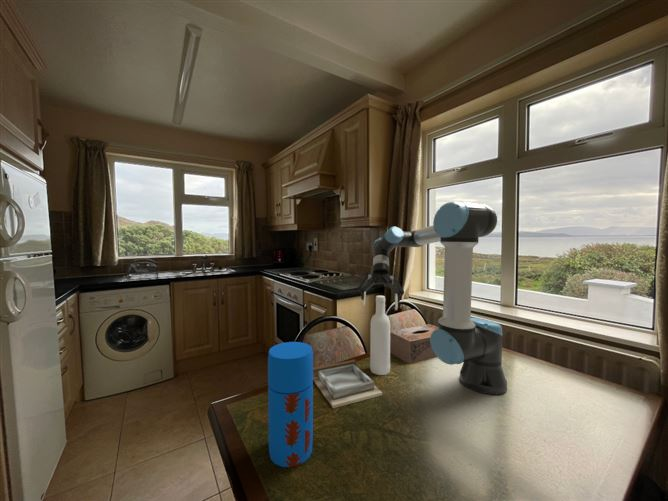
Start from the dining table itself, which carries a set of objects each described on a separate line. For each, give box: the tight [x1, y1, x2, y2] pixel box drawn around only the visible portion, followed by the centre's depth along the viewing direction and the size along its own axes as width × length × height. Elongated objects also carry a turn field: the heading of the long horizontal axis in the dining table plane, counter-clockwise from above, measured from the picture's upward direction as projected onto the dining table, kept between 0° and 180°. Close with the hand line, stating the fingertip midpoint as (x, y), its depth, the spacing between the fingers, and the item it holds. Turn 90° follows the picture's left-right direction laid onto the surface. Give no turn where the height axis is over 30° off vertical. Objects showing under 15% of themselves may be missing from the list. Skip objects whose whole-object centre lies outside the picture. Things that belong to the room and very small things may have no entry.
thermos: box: [267, 341, 314, 468], centre depth 66 cm, size 11×11×25 cm
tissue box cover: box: [390, 323, 438, 365], centre depth 125 cm, size 26×14×10 cm, turn 116°
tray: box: [313, 359, 383, 409], centre depth 95 cm, size 20×18×4 cm
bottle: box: [369, 295, 391, 376], centre depth 107 cm, size 8×8×30 cm
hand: (380, 307), depth 114 cm, fingers open, 13 cm apart
